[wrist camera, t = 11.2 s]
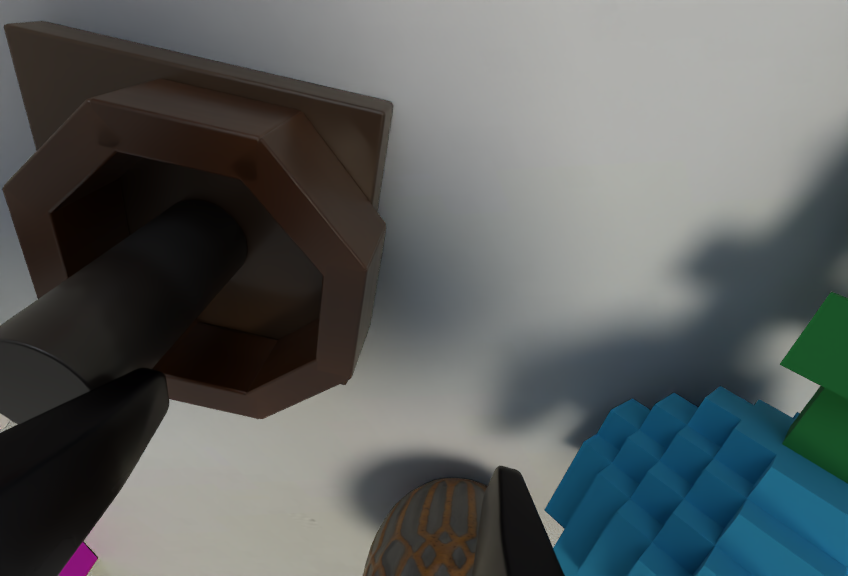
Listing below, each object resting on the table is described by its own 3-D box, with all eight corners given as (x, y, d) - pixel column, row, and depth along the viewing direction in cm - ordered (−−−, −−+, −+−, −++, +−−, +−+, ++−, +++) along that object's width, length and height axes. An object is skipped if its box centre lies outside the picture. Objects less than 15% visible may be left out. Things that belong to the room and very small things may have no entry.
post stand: (354, 362, 17) (279, 573, 11) (106, 306, 17) (-110, 487, 11) (394, 101, 12) (297, 222, 6) (42, 19, 12) (-428, 56, 6)
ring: (361, 380, 16) (342, 439, 14) (117, 325, 15) (61, 376, 13) (402, 132, 11) (383, 165, 9) (58, 54, 11) (-39, 69, 9)
